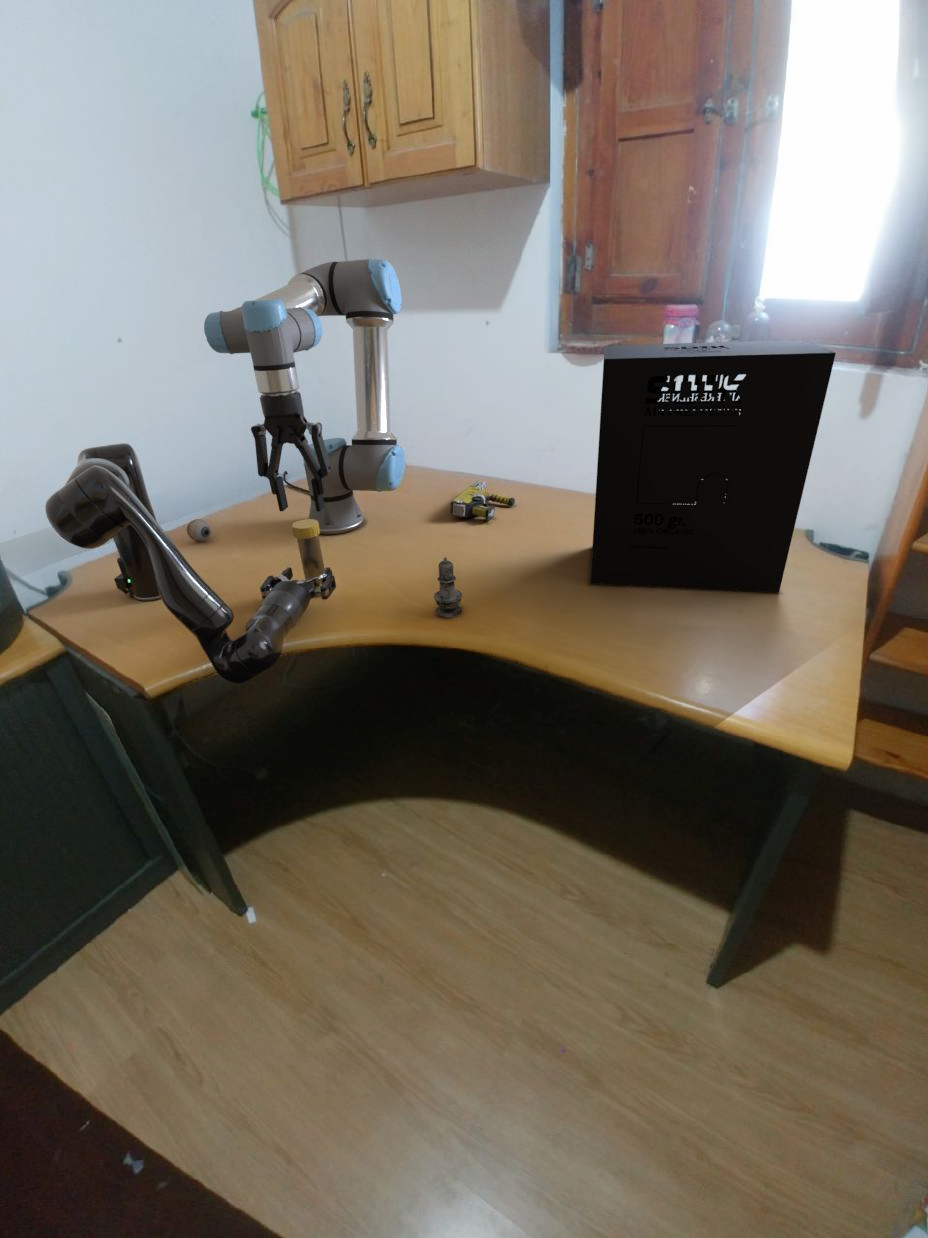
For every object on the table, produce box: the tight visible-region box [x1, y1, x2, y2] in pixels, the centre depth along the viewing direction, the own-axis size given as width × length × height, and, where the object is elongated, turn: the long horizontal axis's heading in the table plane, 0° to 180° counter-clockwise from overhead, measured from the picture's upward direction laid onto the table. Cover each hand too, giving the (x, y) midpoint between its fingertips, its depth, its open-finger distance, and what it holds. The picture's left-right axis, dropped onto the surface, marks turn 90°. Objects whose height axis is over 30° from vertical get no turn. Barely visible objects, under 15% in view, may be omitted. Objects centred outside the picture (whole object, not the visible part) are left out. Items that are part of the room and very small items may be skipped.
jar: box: [296, 535, 325, 587], centre depth 130 cm, size 4×4×16 cm
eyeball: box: [186, 518, 212, 542], centre depth 162 cm, size 6×6×6 cm
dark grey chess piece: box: [433, 556, 463, 618], centre depth 120 cm, size 6×6×12 cm
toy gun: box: [449, 480, 516, 522], centre depth 174 cm, size 5×24×15 cm
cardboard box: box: [590, 338, 837, 594], centre depth 124 cm, size 38×20×45 cm, turn 78°
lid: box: [291, 518, 320, 539], centre depth 127 cm, size 6×6×2 cm
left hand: (309, 571), depth 129 cm, fingers open, 8 cm apart
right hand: (302, 508), depth 124 cm, fingers open, 7 cm apart
